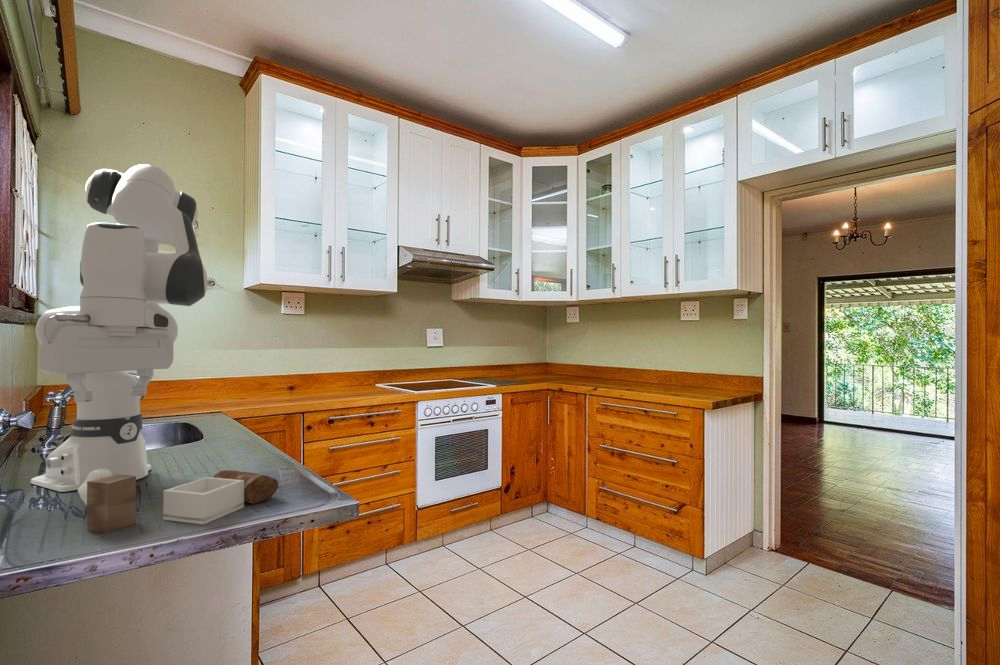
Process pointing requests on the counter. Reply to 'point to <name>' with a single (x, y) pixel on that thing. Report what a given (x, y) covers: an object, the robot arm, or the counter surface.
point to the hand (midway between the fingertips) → (112, 398)
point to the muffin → (91, 476)
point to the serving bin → (203, 500)
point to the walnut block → (111, 503)
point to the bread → (252, 484)
